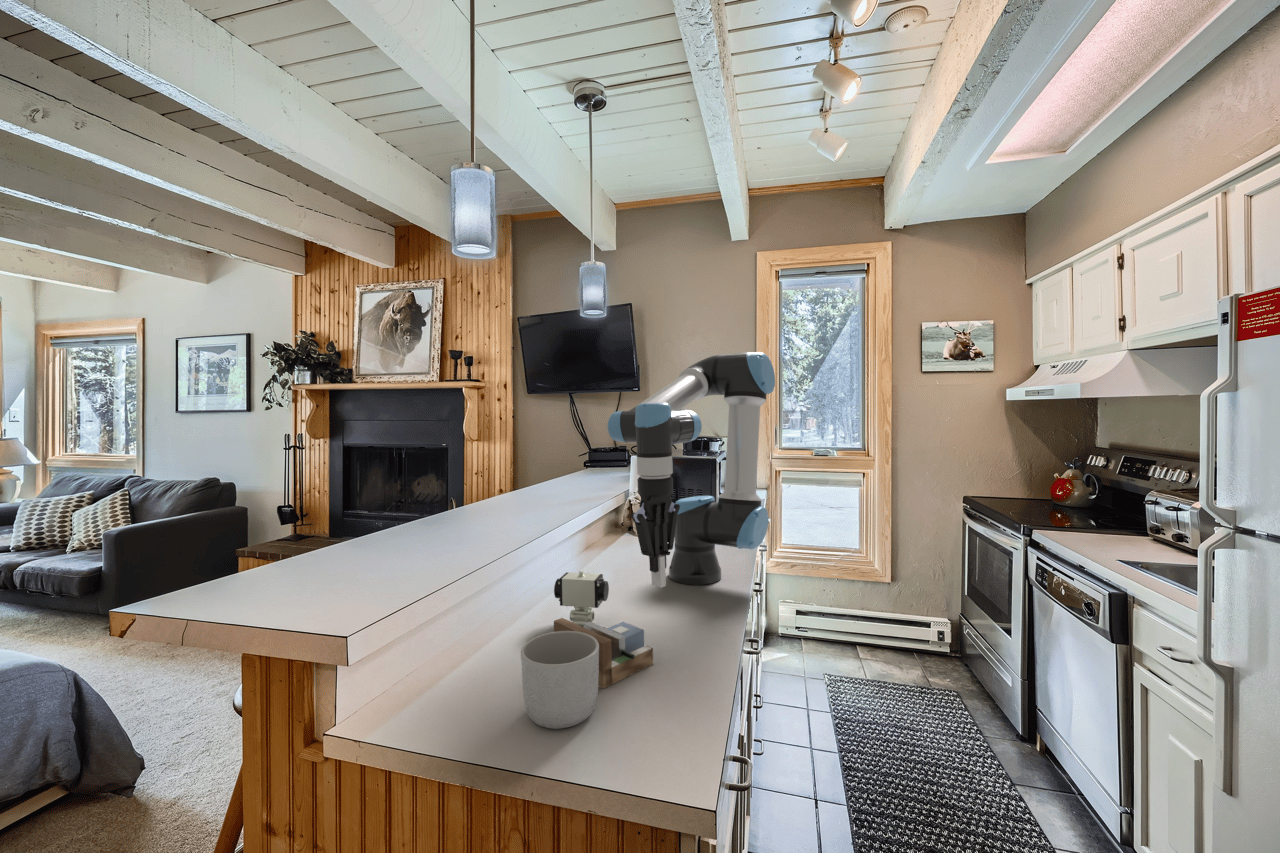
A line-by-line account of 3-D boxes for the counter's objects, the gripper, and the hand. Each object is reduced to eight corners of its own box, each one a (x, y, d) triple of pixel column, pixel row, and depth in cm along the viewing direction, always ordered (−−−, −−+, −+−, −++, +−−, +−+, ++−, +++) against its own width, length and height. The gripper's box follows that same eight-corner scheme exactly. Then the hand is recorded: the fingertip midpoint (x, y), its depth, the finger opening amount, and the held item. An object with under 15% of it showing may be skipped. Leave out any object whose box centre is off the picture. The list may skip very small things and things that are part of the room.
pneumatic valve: (604, 629, 116) (603, 575, 116) (554, 625, 119) (553, 573, 118) (610, 619, 122) (609, 568, 121) (562, 616, 124) (561, 566, 124)
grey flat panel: (590, 650, 105) (589, 621, 105) (636, 673, 96) (636, 641, 95) (584, 653, 104) (583, 623, 104) (630, 676, 95) (630, 644, 94)
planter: (531, 746, 76) (529, 672, 76) (515, 703, 87) (514, 638, 87) (611, 724, 81) (610, 655, 81) (586, 686, 92) (585, 625, 92)
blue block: (623, 645, 108) (623, 620, 108) (644, 654, 104) (643, 628, 104) (597, 657, 103) (597, 630, 103) (618, 667, 99) (618, 639, 99)
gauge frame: (603, 640, 110) (602, 603, 110) (653, 663, 100) (652, 622, 100) (554, 661, 102) (553, 620, 101) (603, 688, 91) (602, 643, 91)
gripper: (662, 470, 118) (666, 573, 119) (620, 478, 109) (624, 589, 110) (688, 473, 112) (691, 580, 114) (646, 481, 103) (650, 598, 105)
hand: (658, 585), depth 112 cm, fingers closed
